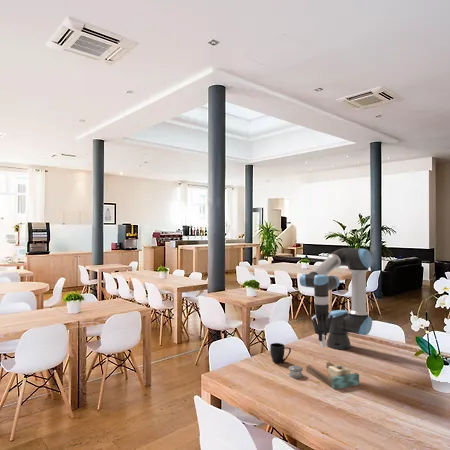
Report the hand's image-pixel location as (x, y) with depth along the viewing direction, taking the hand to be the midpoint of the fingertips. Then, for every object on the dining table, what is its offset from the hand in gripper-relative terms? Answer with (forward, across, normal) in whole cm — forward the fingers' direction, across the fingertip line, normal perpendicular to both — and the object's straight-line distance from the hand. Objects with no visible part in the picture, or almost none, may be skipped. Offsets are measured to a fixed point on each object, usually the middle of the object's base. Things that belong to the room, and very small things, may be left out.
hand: (322, 346), depth 199 cm
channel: (+13, +1, +8) cm, 15 cm away
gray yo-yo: (+13, +17, 0) cm, 21 cm away
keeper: (+13, +1, +15) cm, 20 cm away
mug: (+13, +15, -20) cm, 28 cm away
